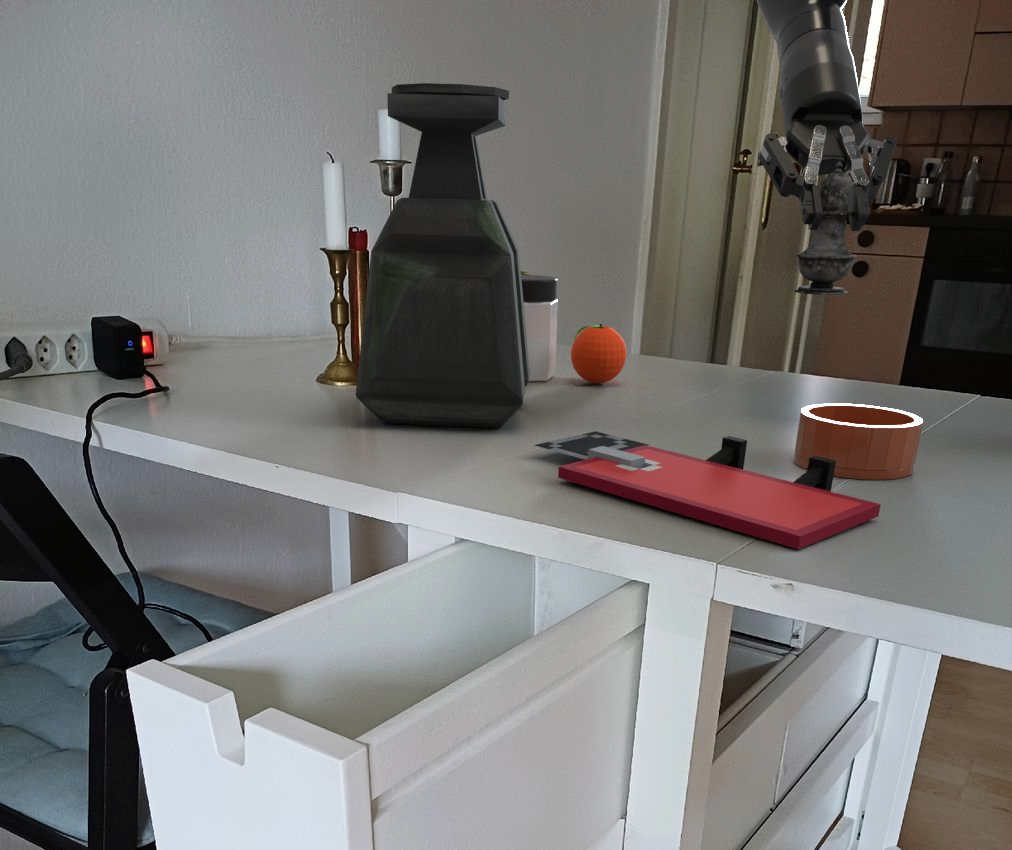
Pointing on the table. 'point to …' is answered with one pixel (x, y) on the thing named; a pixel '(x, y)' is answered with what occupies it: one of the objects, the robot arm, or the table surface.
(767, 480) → the red board with handle
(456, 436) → the table surface
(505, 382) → the bottle
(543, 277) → the jar
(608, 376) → the clementine
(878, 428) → the round brown bowl
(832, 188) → the salt shaker
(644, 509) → the table surface
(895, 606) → the table surface
